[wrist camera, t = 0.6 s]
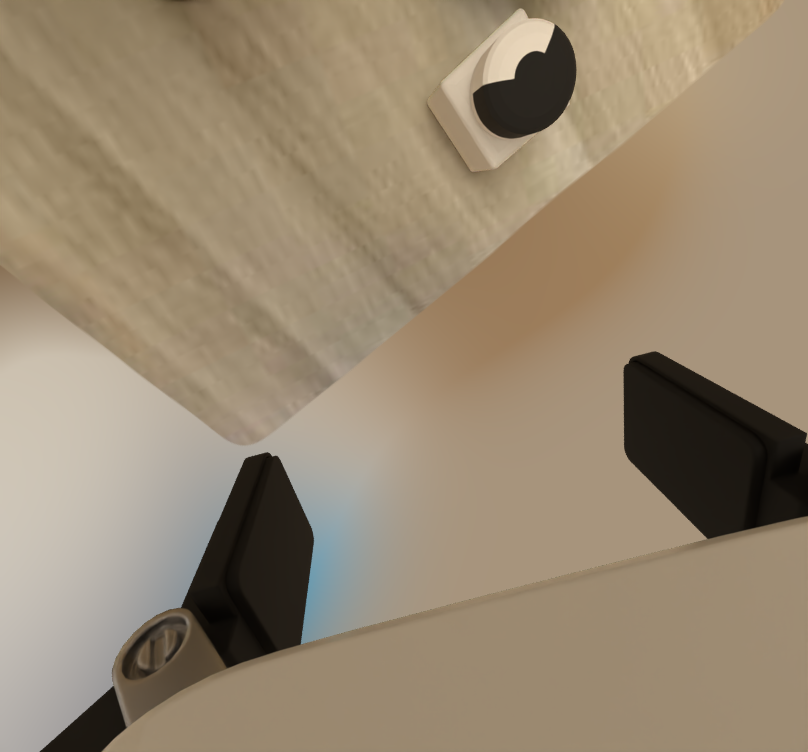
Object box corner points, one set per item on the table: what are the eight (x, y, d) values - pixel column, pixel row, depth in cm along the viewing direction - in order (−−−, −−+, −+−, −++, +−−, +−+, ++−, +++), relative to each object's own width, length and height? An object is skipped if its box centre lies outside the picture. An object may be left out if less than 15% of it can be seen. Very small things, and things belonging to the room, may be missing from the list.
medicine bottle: (535, 118, 37) (610, 88, 26) (471, 174, 38) (516, 168, 27) (491, 38, 34) (554, -32, 23) (424, 102, 35) (453, 63, 24)
